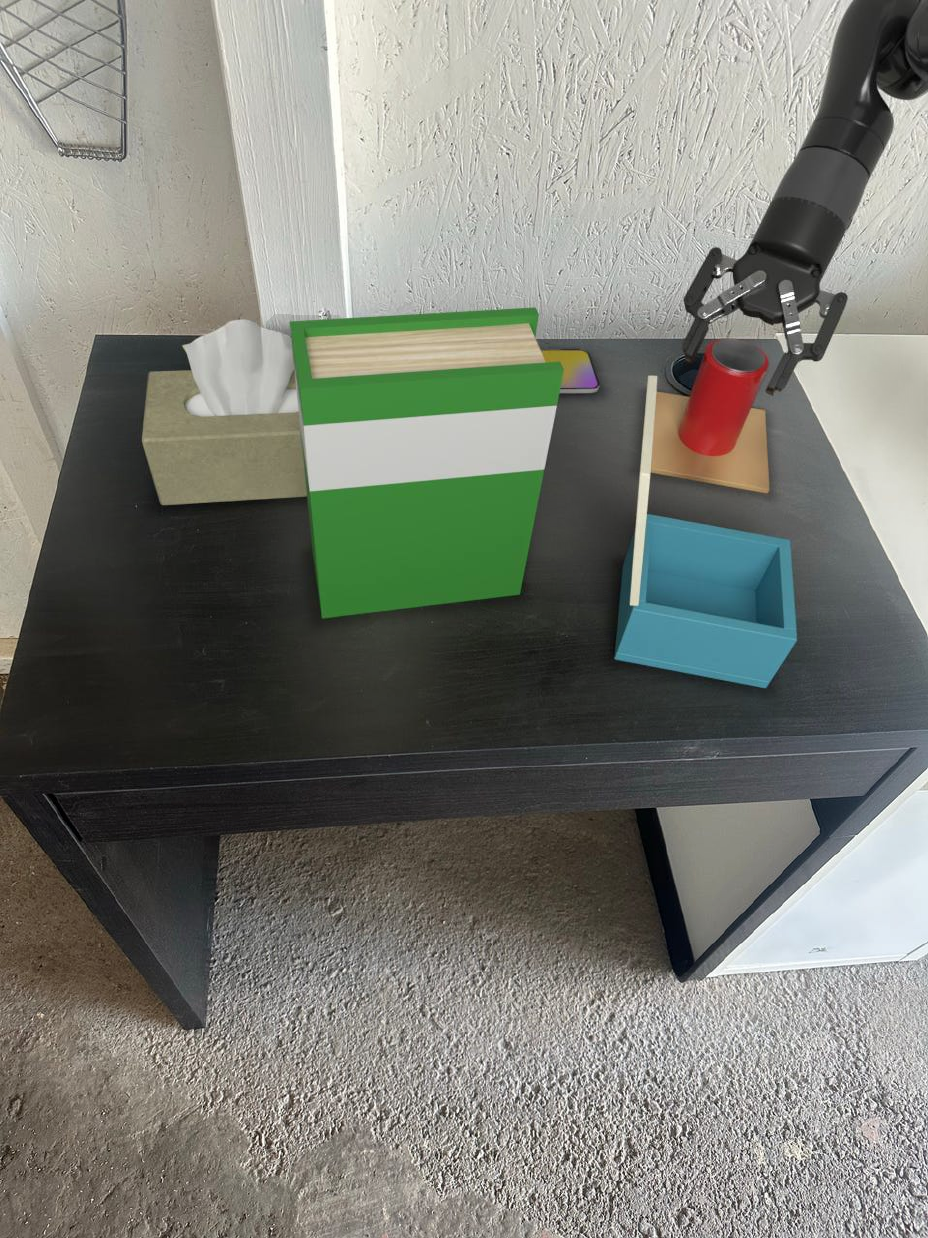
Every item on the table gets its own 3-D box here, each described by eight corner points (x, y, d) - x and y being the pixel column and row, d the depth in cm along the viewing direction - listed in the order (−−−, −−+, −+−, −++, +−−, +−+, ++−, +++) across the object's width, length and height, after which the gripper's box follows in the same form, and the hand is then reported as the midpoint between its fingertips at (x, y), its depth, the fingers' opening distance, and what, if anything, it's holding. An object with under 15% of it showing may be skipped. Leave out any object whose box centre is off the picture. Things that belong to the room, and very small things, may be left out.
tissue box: (350, 428, 89) (345, 289, 76) (359, 494, 83) (354, 355, 70) (162, 437, 86) (124, 294, 73) (157, 507, 80) (115, 364, 67)
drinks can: (735, 423, 93) (768, 341, 85) (736, 460, 89) (771, 379, 81) (678, 413, 93) (706, 331, 85) (676, 450, 89) (706, 367, 81)
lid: (657, 375, 63) (648, 374, 64) (650, 474, 57) (639, 473, 57) (645, 509, 74) (637, 508, 74) (638, 606, 67) (629, 605, 67)
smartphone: (601, 389, 95) (467, 389, 93) (600, 394, 95) (466, 395, 93) (588, 349, 99) (459, 349, 97) (587, 354, 100) (459, 354, 98)
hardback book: (500, 534, 81) (535, 307, 62) (519, 594, 77) (564, 369, 58) (312, 554, 78) (289, 321, 59) (321, 618, 73) (300, 388, 54)
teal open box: (762, 591, 79) (790, 539, 74) (766, 688, 72) (797, 640, 67) (622, 565, 80) (640, 512, 74) (614, 659, 73) (632, 609, 67)
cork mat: (763, 414, 95) (765, 409, 95) (767, 493, 87) (769, 489, 87) (647, 393, 96) (649, 389, 95) (641, 471, 88) (642, 466, 87)
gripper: (737, 173, 79) (657, 339, 82) (889, 222, 75) (800, 395, 78) (738, 207, 86) (665, 359, 89) (877, 255, 82) (795, 412, 85)
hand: (728, 376), depth 83 cm, fingers open, 8 cm apart
